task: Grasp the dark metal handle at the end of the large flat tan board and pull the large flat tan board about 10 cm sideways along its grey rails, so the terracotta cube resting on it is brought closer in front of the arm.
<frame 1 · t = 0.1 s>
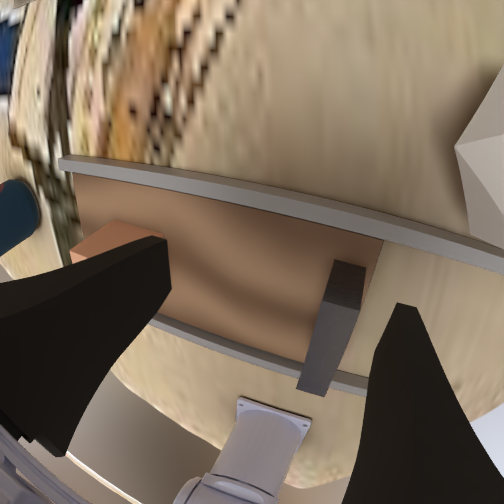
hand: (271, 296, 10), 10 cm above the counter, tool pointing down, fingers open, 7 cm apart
lane rails: (260, 285, 23), on the counter
soda can: (28, 202, 30), on the counter
large flat tan board: (181, 284, 22), point 2 cm above the counter, slide at 0.0 cm, touching cube
cube: (140, 253, 25), point 1 cm above the counter, touching large flat tan board
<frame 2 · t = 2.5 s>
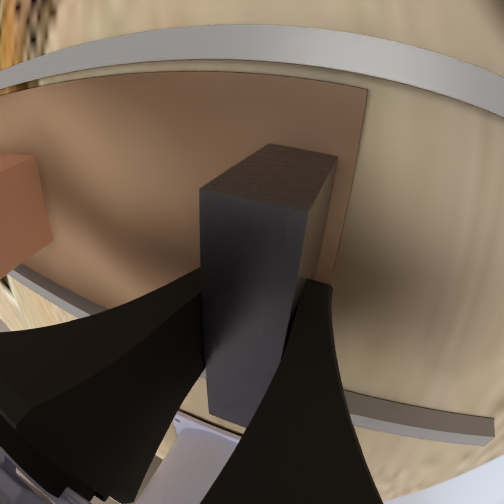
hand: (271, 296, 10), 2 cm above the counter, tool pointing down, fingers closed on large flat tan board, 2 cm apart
lane rails: (158, 223, 13), on the counter
large flat tan board: (44, 223, 12), point 2 cm above the counter, slide at 0.0 cm, touching cube, gripper
cube: (22, 194, 15), point 1 cm above the counter, touching large flat tan board
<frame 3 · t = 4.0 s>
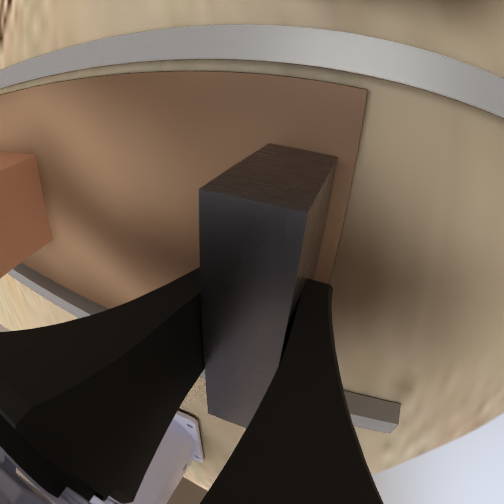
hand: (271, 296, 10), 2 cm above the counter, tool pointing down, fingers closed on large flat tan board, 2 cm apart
lane rails: (68, 199, 14), on the counter
large flat tan board: (44, 223, 12), point 2 cm above the counter, slide at 5.9 cm, touching cube, gripper
cube: (22, 193, 15), point 1 cm above the counter, touching large flat tan board
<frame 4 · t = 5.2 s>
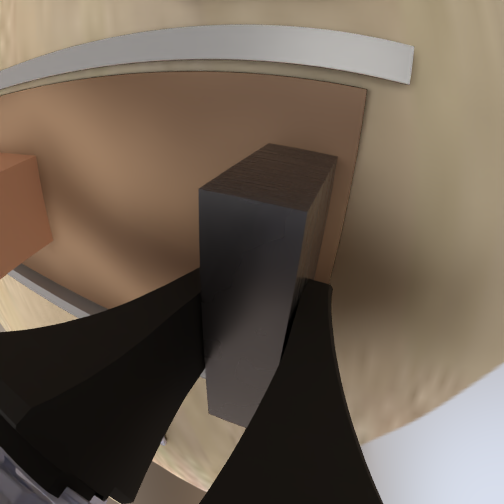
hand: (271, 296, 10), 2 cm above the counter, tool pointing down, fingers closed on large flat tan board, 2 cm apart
lane rails: (29, 190, 15), on the counter
large flat tan board: (44, 223, 12), point 2 cm above the counter, slide at 10.0 cm, touching cube, gripper
cube: (22, 194, 15), point 1 cm above the counter, touching large flat tan board
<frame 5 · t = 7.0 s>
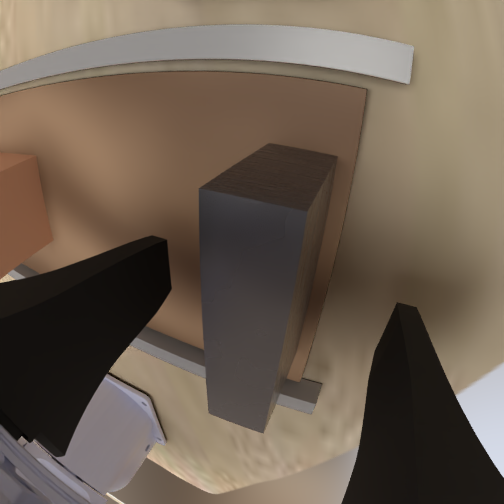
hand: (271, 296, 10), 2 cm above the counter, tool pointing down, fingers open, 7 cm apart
lane rails: (29, 190, 15), on the counter
large flat tan board: (44, 223, 12), point 2 cm above the counter, slide at 10.0 cm, touching cube
cube: (22, 193, 15), point 1 cm above the counter, touching large flat tan board
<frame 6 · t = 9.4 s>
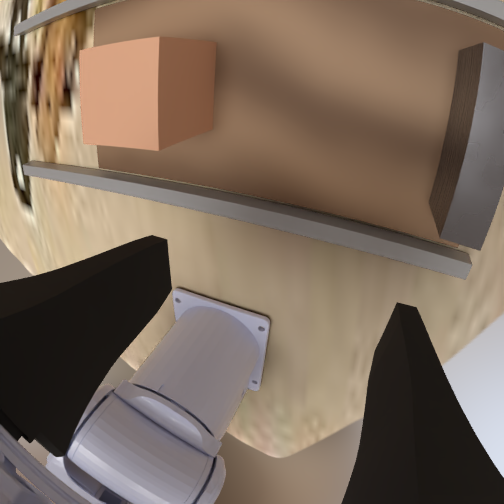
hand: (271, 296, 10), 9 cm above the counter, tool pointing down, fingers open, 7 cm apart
lane rails: (181, 84, 17), on the counter
large flat tan board: (245, 90, 14), point 2 cm above the counter, slide at 10.0 cm, touching cube
cube: (175, 84, 16), point 1 cm above the counter, touching large flat tan board
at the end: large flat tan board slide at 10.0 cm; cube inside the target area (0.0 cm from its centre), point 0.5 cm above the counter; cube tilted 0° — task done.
